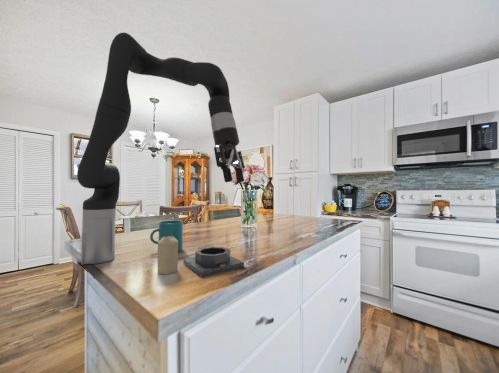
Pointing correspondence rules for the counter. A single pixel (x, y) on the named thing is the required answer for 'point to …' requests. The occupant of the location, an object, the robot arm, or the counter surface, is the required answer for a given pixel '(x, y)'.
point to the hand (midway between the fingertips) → (235, 181)
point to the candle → (167, 255)
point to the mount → (212, 261)
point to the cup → (170, 232)
